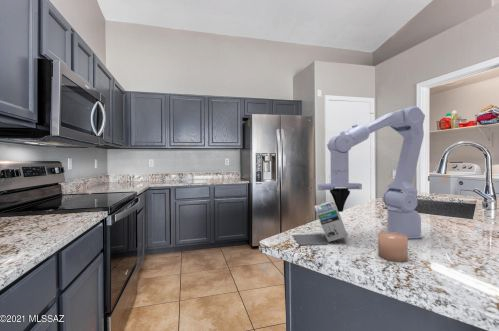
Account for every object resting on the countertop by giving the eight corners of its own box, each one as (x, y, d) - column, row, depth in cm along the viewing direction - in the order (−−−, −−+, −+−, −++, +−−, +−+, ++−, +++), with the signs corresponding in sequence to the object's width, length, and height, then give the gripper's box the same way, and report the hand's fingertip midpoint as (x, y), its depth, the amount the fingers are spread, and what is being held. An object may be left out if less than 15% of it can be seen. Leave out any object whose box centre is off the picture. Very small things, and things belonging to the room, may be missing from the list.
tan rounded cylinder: (396, 251, 70) (396, 231, 70) (414, 261, 63) (414, 238, 63) (373, 252, 70) (372, 231, 70) (388, 262, 63) (388, 239, 63)
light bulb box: (348, 236, 76) (336, 204, 77) (327, 242, 77) (315, 210, 78) (342, 228, 87) (331, 199, 88) (324, 233, 88) (313, 205, 89)
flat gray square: (319, 234, 87) (319, 233, 87) (330, 244, 77) (330, 243, 77) (292, 235, 86) (292, 234, 86) (299, 245, 76) (299, 244, 76)
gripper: (354, 170, 86) (354, 208, 86) (314, 170, 85) (314, 209, 85) (365, 171, 79) (365, 212, 79) (321, 171, 78) (322, 213, 78)
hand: (339, 211), depth 82 cm, fingers closed
